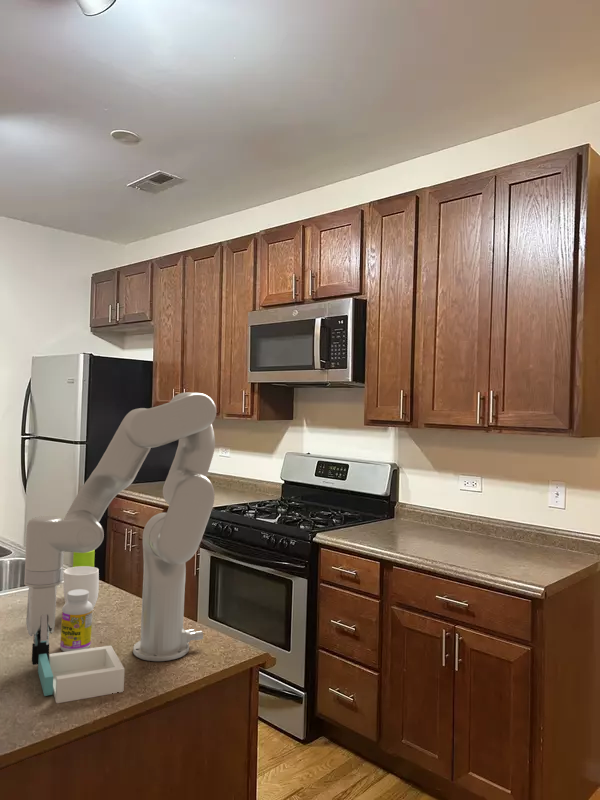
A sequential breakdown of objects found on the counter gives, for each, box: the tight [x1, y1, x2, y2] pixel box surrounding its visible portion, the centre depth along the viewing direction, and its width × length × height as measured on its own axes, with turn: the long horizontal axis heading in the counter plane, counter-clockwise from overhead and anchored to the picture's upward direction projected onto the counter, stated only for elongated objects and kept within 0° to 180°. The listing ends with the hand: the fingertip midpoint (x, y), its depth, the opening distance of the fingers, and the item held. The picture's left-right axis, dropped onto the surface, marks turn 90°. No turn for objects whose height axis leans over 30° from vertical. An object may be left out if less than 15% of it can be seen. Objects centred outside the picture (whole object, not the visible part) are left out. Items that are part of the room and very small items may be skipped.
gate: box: [37, 654, 54, 697], centre depth 126 cm, size 2×12×4 cm, turn 28°
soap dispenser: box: [72, 549, 96, 567], centre depth 184 cm, size 6×7×20 cm
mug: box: [63, 566, 100, 612], centre depth 168 cm, size 12×9×12 cm
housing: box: [49, 644, 125, 704], centre depth 127 cm, size 12×13×4 cm
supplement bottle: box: [60, 589, 94, 652], centre depth 145 cm, size 7×7×13 cm
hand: (40, 662), depth 133 cm, fingers closed
